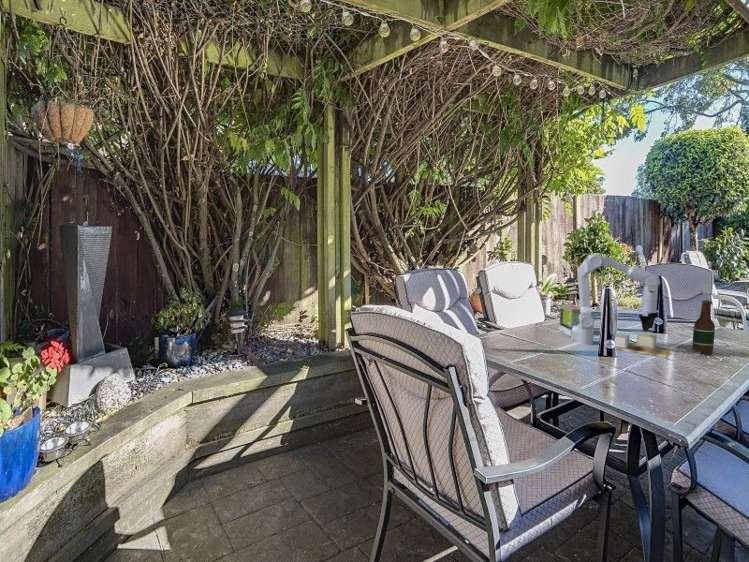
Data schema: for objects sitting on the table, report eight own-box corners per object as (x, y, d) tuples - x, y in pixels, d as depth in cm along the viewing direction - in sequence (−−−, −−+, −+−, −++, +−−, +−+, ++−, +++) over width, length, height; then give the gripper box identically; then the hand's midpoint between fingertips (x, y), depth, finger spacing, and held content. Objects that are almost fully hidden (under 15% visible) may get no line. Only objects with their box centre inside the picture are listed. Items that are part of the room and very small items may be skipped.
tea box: (589, 337, 233) (591, 309, 232) (570, 337, 233) (571, 309, 232) (576, 330, 248) (578, 304, 247) (558, 330, 248) (560, 304, 247)
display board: (604, 350, 208) (604, 344, 207) (615, 343, 221) (615, 337, 221) (665, 360, 192) (665, 354, 191) (672, 352, 205) (673, 346, 205)
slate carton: (609, 347, 208) (610, 334, 207) (611, 345, 211) (612, 332, 210) (626, 350, 203) (627, 336, 202) (628, 348, 206) (629, 334, 206)
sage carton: (636, 347, 209) (637, 333, 208) (638, 345, 212) (639, 331, 212) (653, 350, 204) (654, 336, 204) (655, 348, 208) (656, 334, 207)
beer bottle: (690, 352, 204) (694, 300, 201) (693, 349, 210) (697, 298, 207) (711, 356, 199) (716, 302, 196) (713, 352, 205) (718, 300, 202)
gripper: (656, 303, 197) (654, 333, 199) (663, 299, 208) (660, 328, 210) (638, 301, 202) (636, 330, 204) (645, 297, 213) (643, 325, 214)
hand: (647, 329), depth 207 cm, fingers open, 7 cm apart
